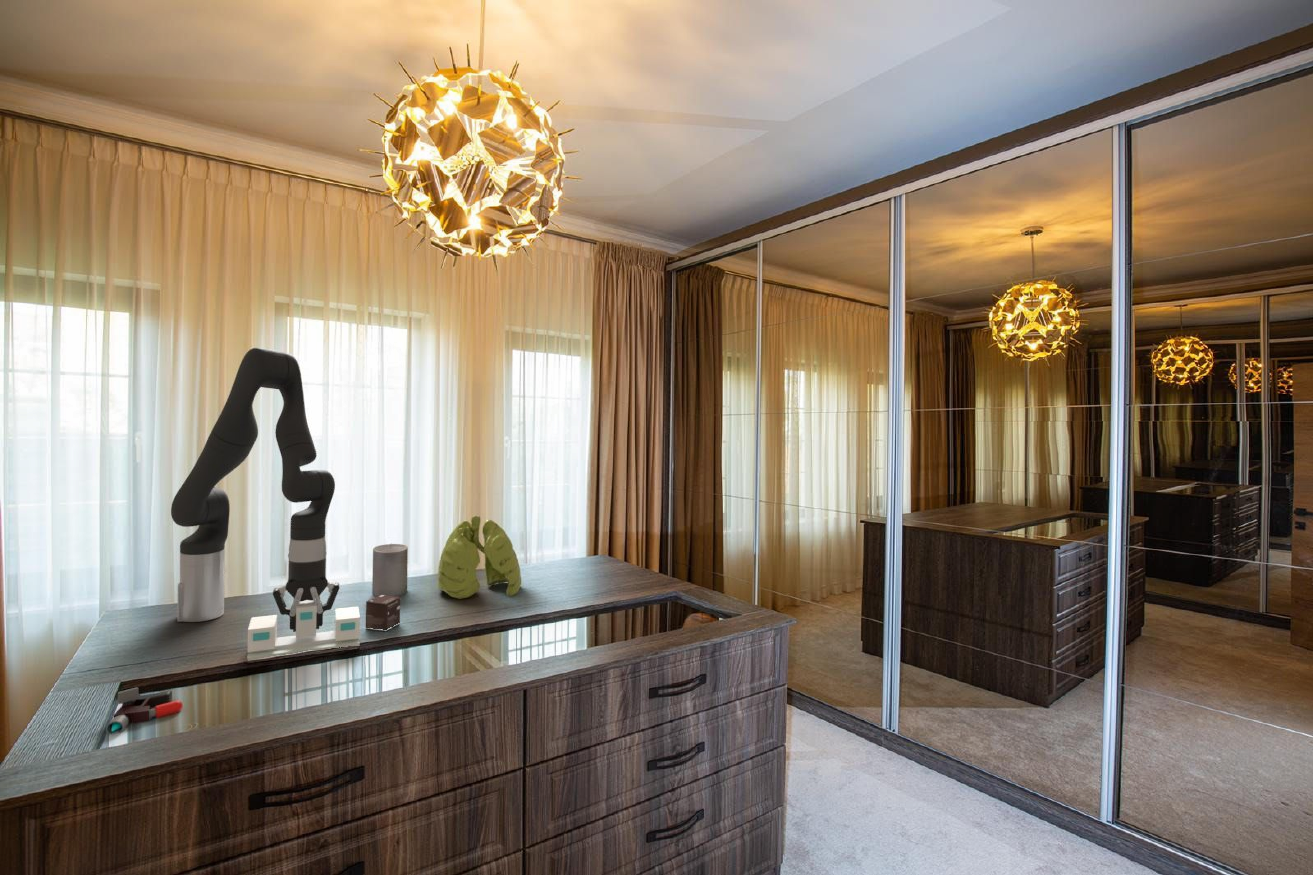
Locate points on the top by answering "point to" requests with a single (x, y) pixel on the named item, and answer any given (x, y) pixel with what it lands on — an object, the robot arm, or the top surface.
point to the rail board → (268, 644)
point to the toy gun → (141, 708)
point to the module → (306, 619)
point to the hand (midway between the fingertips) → (306, 629)
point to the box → (382, 612)
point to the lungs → (477, 559)
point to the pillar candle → (390, 570)
